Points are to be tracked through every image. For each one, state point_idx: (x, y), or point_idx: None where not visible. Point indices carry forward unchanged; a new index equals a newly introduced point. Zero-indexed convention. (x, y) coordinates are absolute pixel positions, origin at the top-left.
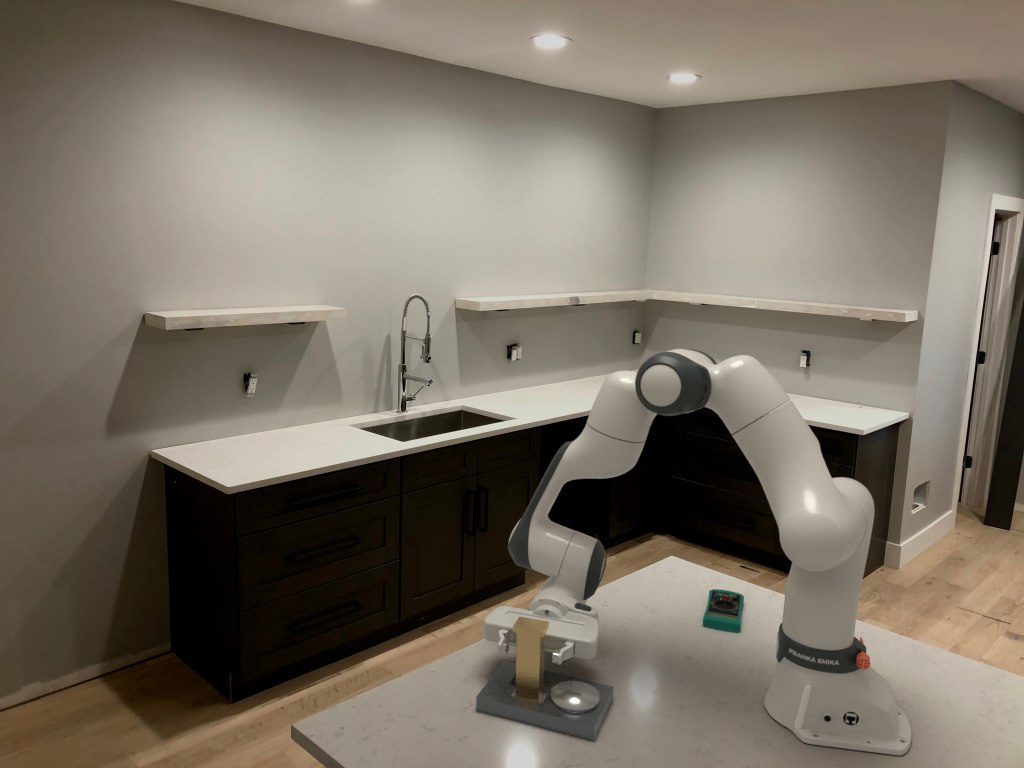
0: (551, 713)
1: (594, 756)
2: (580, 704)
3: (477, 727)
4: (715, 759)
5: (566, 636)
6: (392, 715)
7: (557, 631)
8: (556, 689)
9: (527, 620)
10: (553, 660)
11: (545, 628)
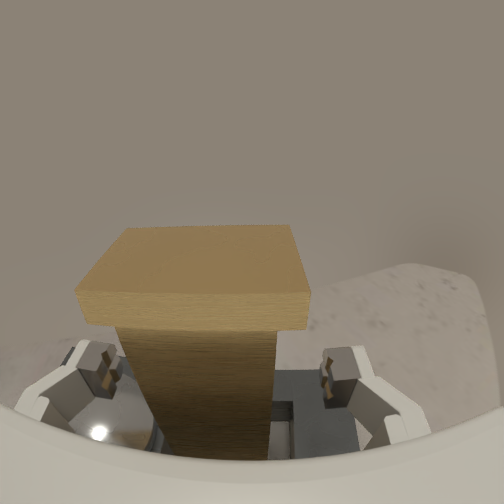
0: None
1: (91, 339)
2: None
3: (306, 352)
4: None
5: (26, 421)
6: (438, 323)
7: (59, 465)
8: (137, 432)
9: (228, 270)
10: (115, 357)
11: (113, 243)
